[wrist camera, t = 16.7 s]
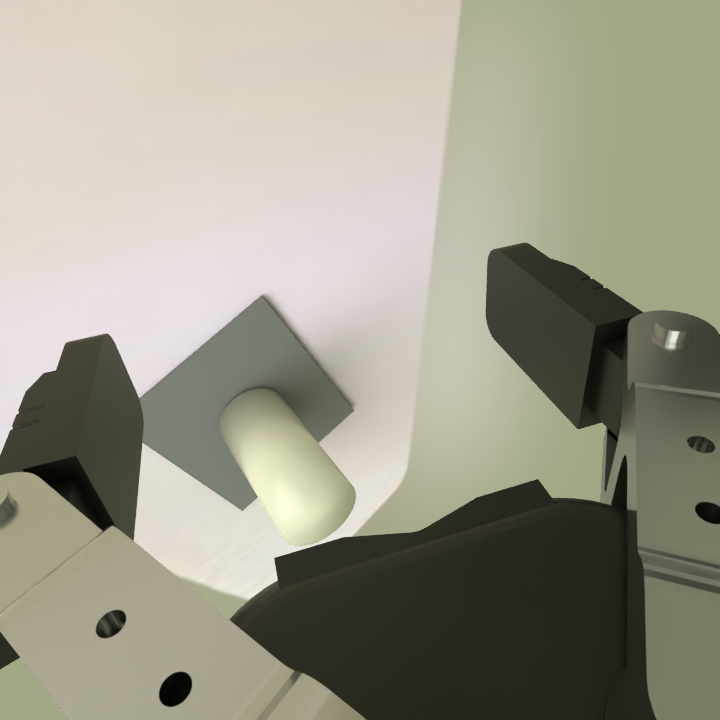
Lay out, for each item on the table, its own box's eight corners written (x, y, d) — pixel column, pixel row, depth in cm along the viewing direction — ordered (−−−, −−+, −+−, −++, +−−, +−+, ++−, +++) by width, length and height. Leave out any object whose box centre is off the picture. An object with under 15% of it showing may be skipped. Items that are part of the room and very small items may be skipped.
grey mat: (261, 295, 35) (263, 298, 35) (351, 407, 45) (354, 410, 45) (113, 420, 34) (115, 423, 33) (240, 507, 43) (242, 510, 43)
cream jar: (260, 375, 37) (332, 465, 30) (296, 412, 41) (368, 500, 34) (204, 424, 37) (264, 527, 30) (245, 457, 40) (308, 556, 33)
